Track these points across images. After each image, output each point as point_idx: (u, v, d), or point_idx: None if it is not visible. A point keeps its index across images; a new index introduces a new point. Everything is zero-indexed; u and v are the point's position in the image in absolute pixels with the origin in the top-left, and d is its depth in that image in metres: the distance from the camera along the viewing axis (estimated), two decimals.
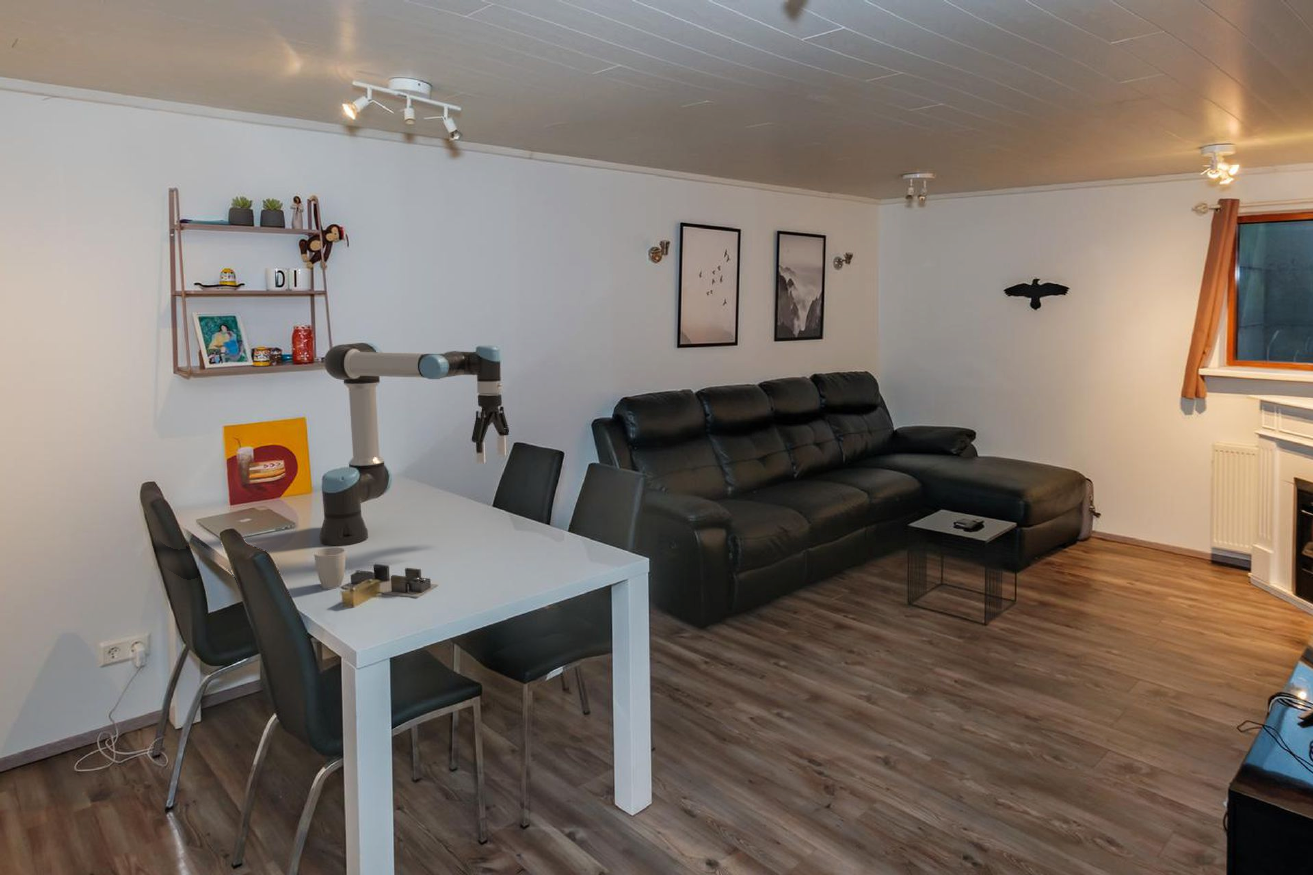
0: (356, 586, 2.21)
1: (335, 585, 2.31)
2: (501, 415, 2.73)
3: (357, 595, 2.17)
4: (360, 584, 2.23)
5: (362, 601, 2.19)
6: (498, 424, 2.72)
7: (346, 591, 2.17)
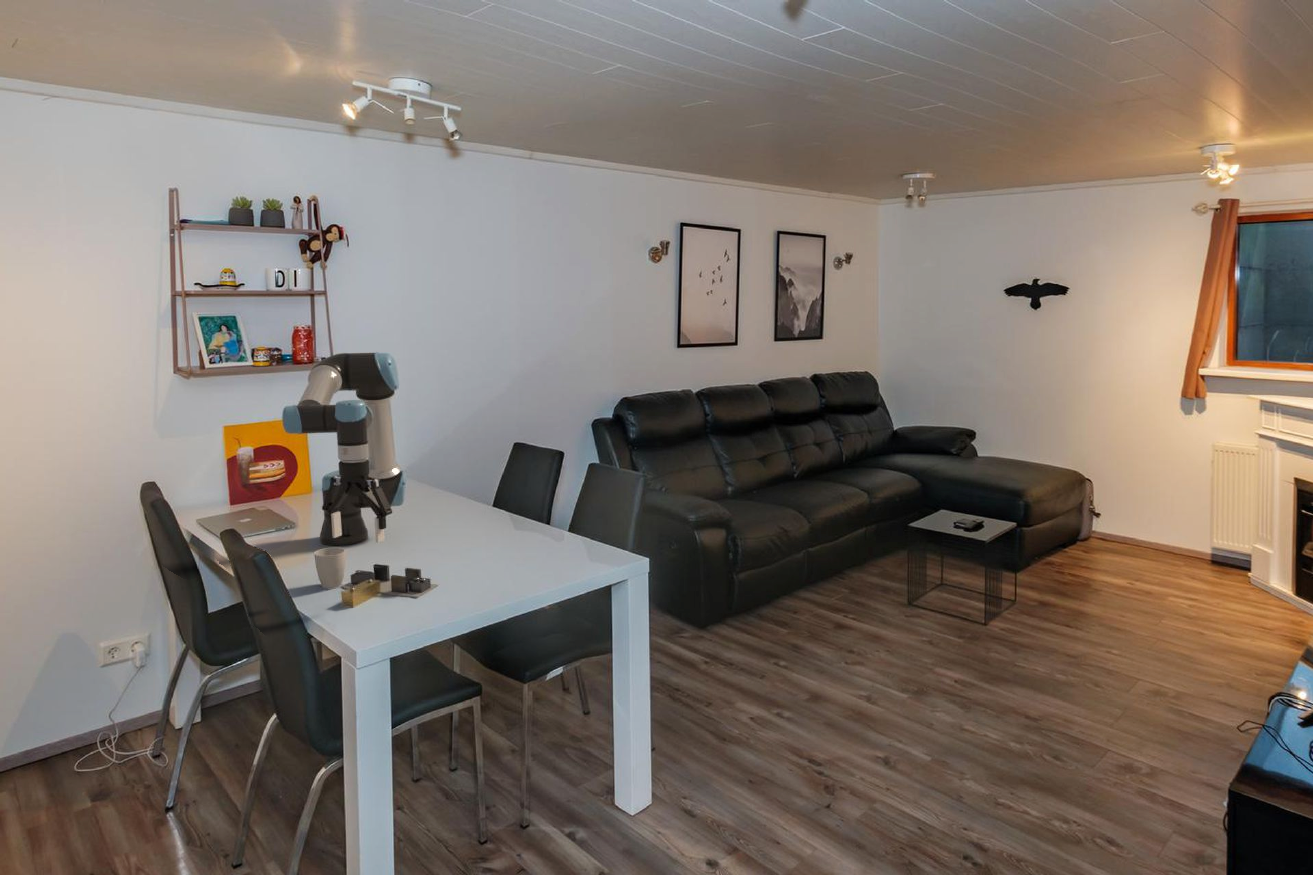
0: (356, 586, 2.21)
1: (335, 585, 2.31)
2: None
3: (356, 595, 2.17)
4: (360, 584, 2.23)
5: (362, 601, 2.19)
6: None
7: (346, 591, 2.17)
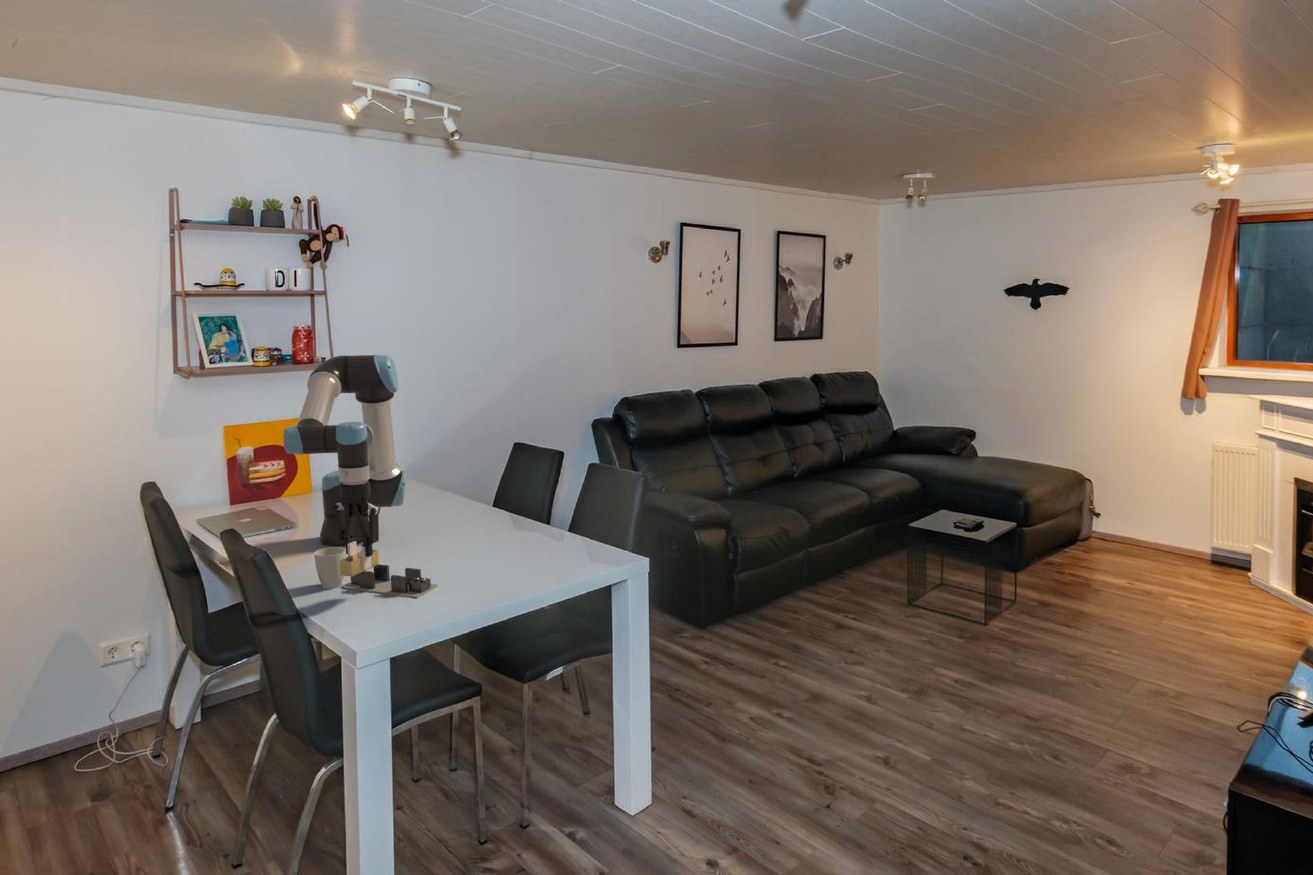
0: (354, 555, 2.20)
1: (335, 585, 2.31)
2: None
3: (355, 564, 2.16)
4: (358, 553, 2.21)
5: (360, 570, 2.18)
6: None
7: (344, 559, 2.16)
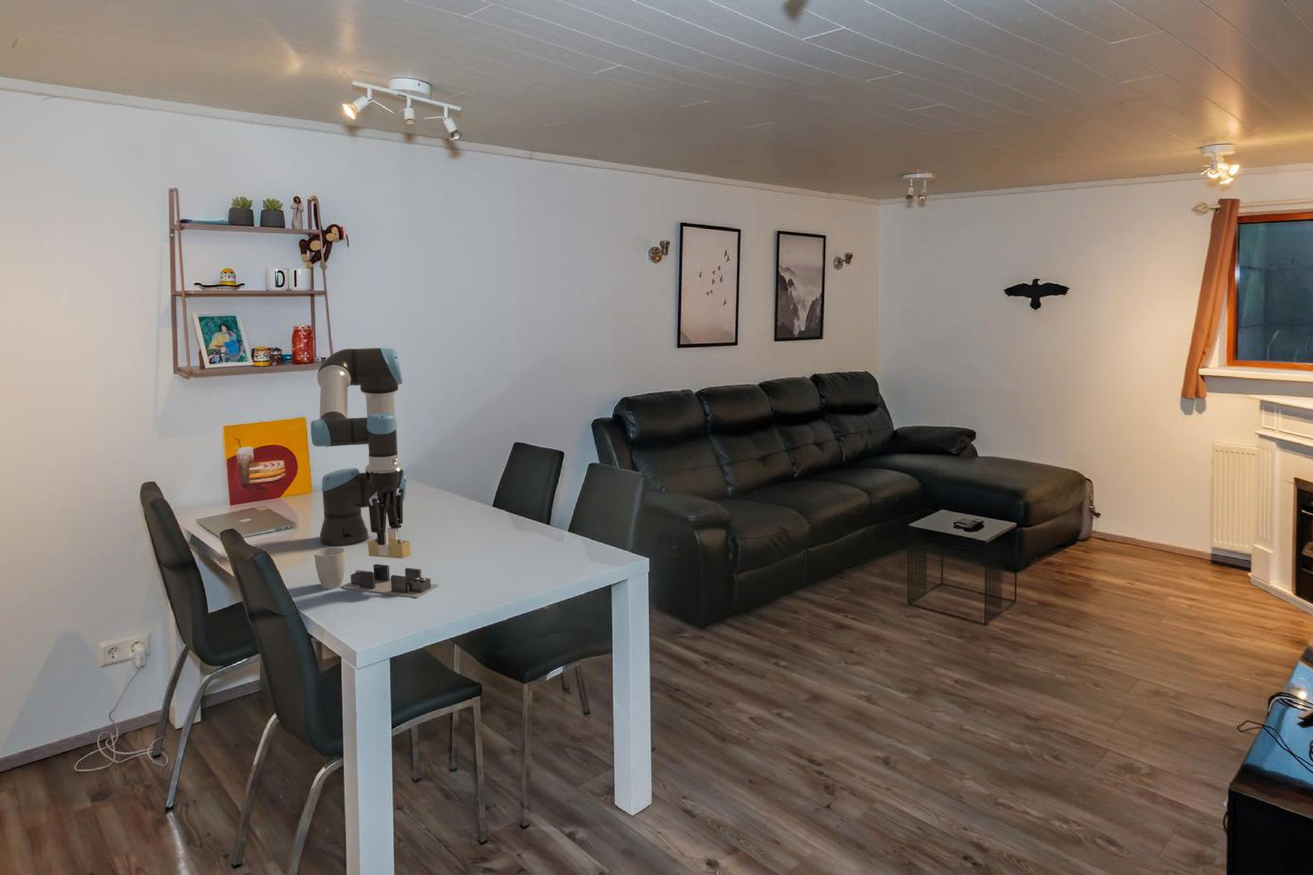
0: (388, 542, 2.28)
1: (335, 585, 2.31)
2: (398, 498, 2.31)
3: None
4: None
5: None
6: (392, 509, 2.29)
7: (400, 543, 2.27)
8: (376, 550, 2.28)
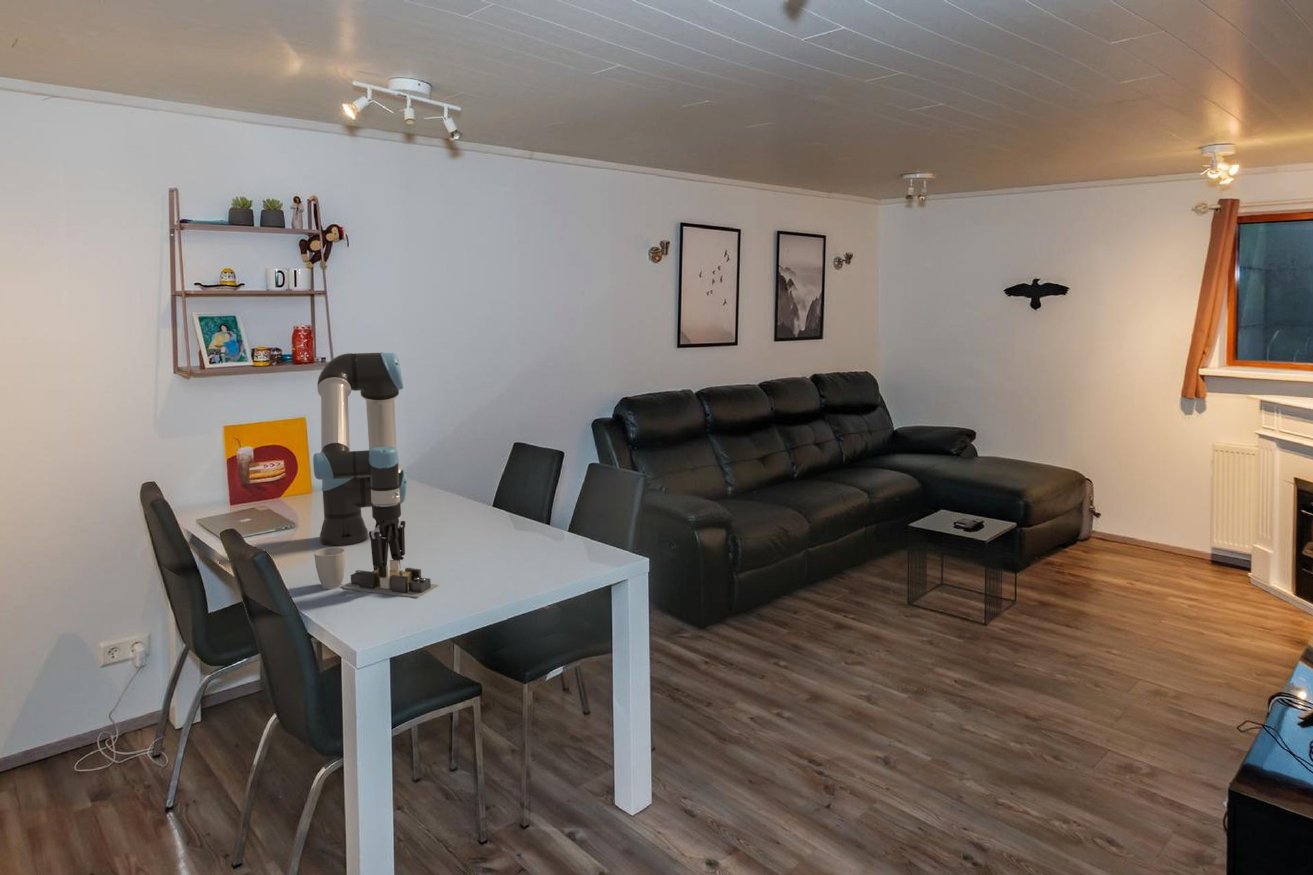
0: (390, 573, 2.29)
1: (335, 585, 2.31)
2: (400, 531, 2.33)
3: None
4: None
5: None
6: (394, 541, 2.30)
7: (402, 575, 2.28)
8: (378, 581, 2.30)
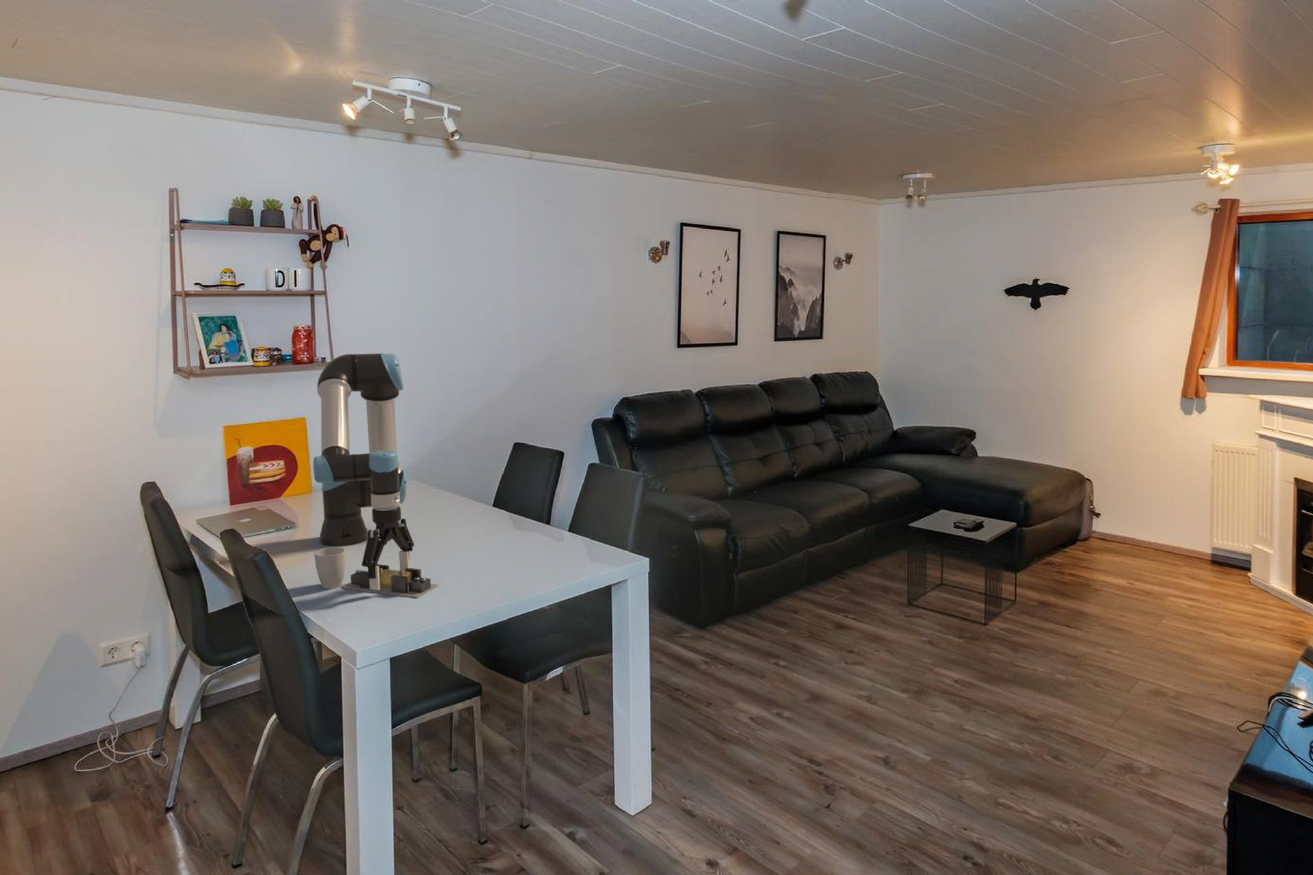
0: (390, 573, 2.29)
1: (335, 585, 2.31)
2: (403, 529, 2.34)
3: None
4: (385, 573, 2.30)
5: None
6: (399, 540, 2.33)
7: (402, 575, 2.28)
8: None
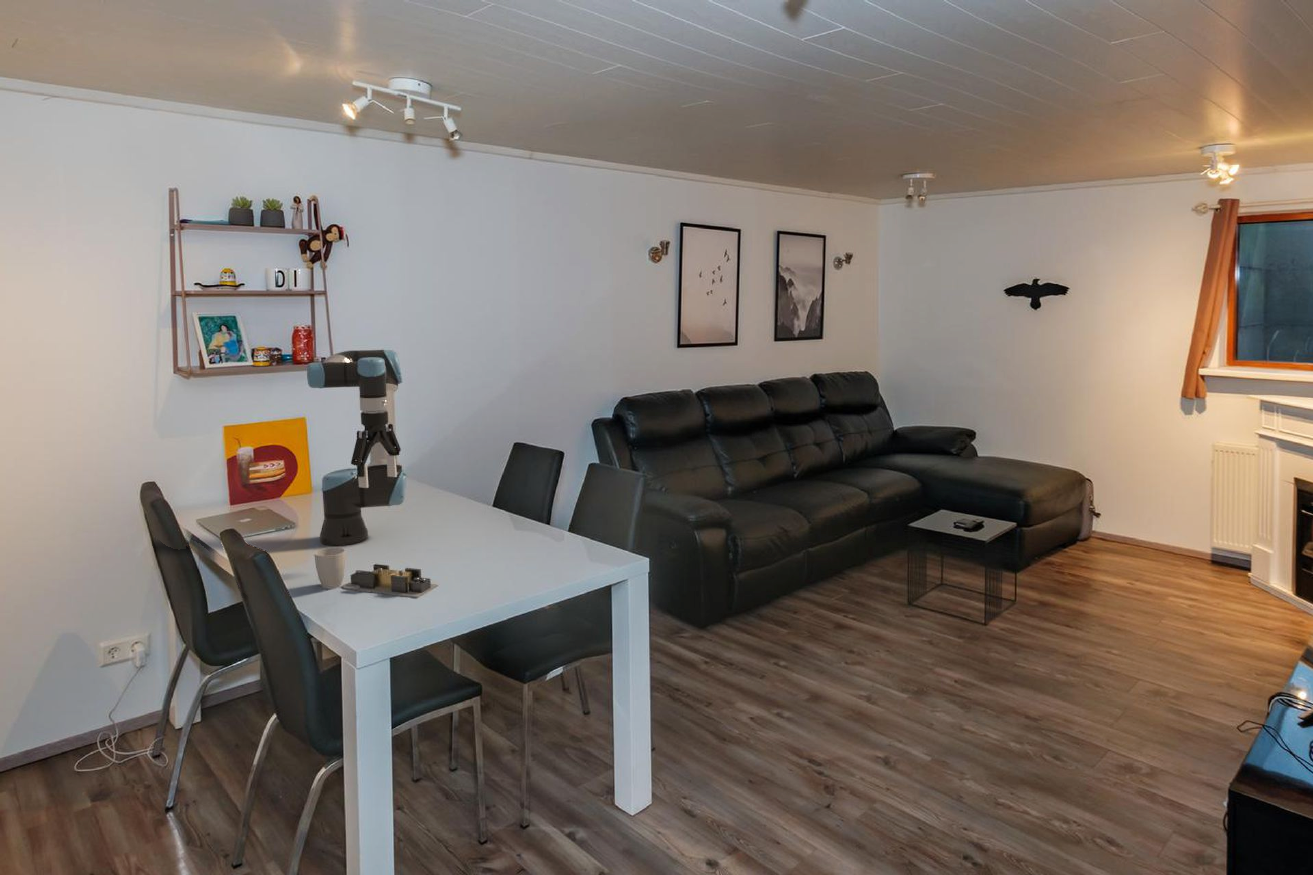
0: (390, 573, 2.29)
1: (335, 585, 2.31)
2: (390, 433, 2.48)
3: None
4: (385, 573, 2.30)
5: None
6: (386, 443, 2.46)
7: (402, 575, 2.28)
8: (378, 581, 2.30)
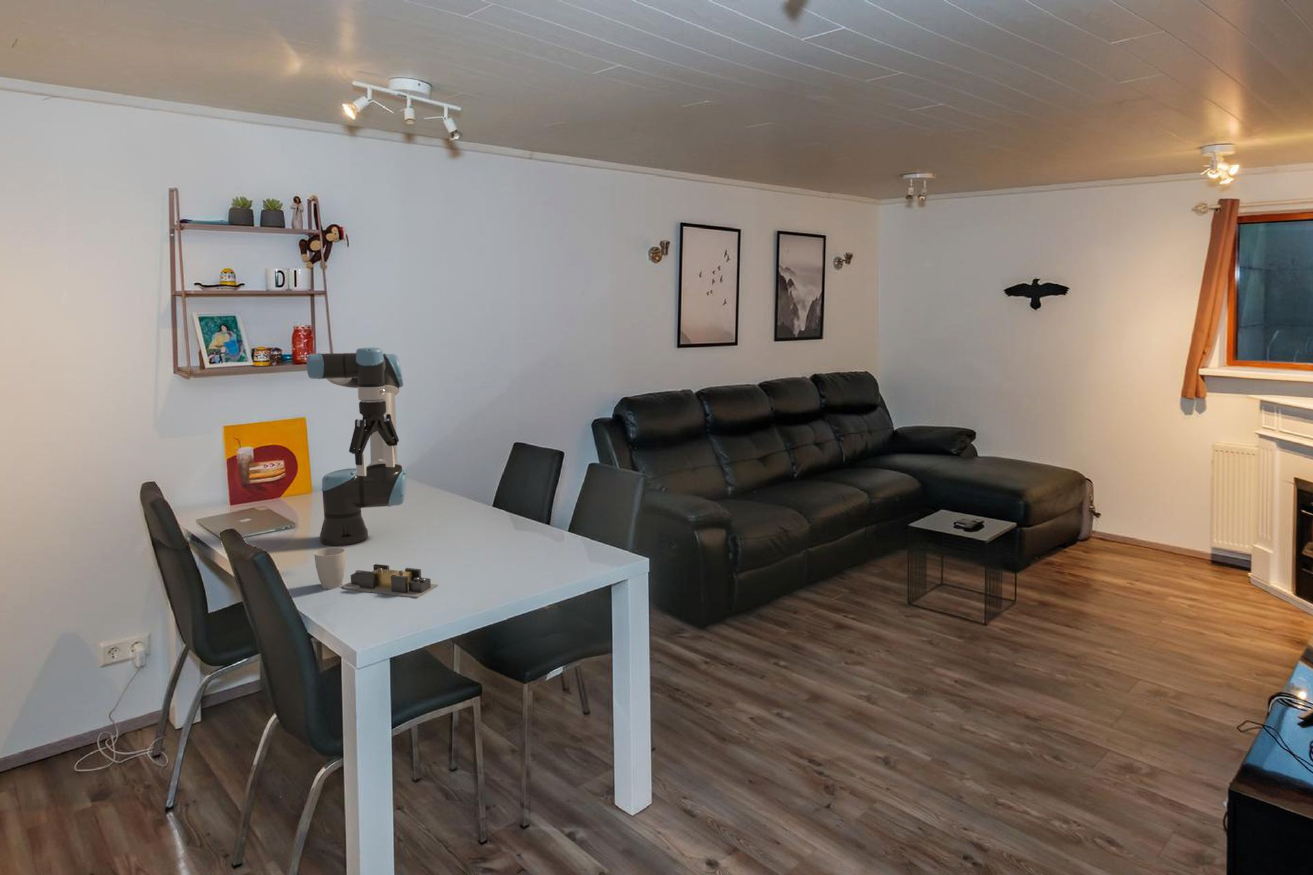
0: (390, 573, 2.29)
1: (335, 585, 2.31)
2: (388, 423, 2.51)
3: None
4: (385, 573, 2.30)
5: None
6: (384, 433, 2.49)
7: (402, 575, 2.28)
8: (378, 581, 2.30)
